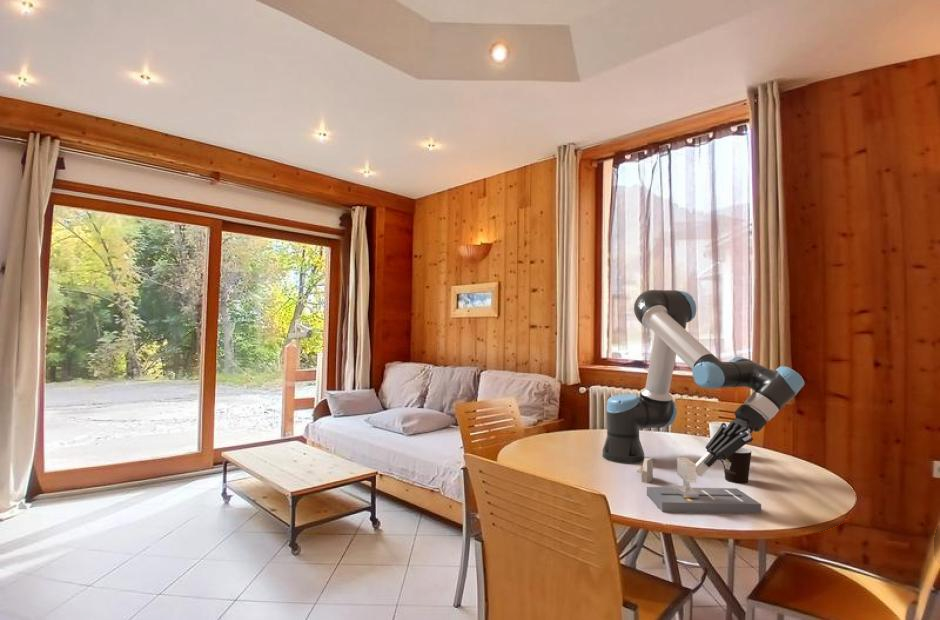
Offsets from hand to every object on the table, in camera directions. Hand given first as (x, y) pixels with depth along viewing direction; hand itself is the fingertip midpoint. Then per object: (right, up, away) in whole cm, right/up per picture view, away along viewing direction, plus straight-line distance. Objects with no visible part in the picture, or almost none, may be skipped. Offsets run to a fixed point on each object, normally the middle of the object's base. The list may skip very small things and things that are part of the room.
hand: (695, 472), depth 129 cm
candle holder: (+35, -11, +50) cm, 62 cm away
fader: (-2, -6, 0) cm, 7 cm away
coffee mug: (+23, -10, +22) cm, 33 cm away
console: (+1, -9, 0) cm, 9 cm away
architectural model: (-6, -10, +20) cm, 23 cm away
